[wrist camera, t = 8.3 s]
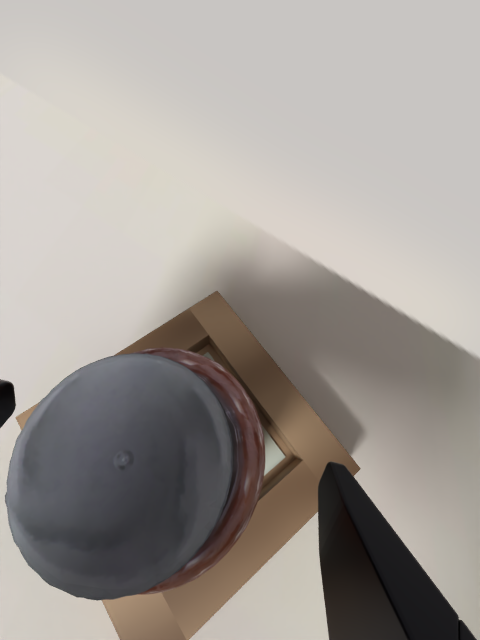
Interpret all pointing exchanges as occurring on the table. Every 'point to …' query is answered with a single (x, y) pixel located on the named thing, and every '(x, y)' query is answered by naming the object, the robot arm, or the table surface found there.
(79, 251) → the table surface
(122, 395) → the supplement bottle
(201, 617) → the socket block
